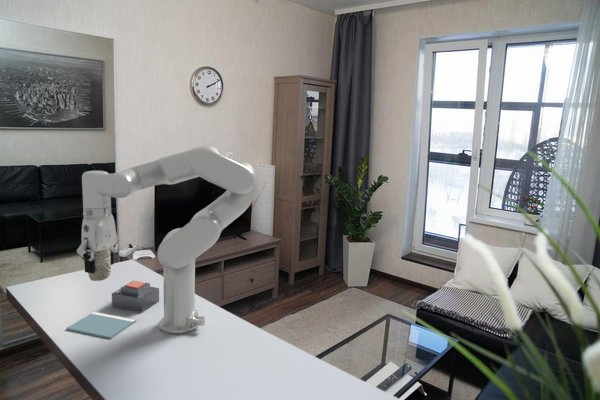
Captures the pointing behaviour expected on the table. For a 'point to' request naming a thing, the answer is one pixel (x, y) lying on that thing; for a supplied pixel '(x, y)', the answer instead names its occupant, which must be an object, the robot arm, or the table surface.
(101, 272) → the carving
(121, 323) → the mat
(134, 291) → the breaker box
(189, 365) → the table surface
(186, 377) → the table surface
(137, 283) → the button
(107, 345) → the table surface
